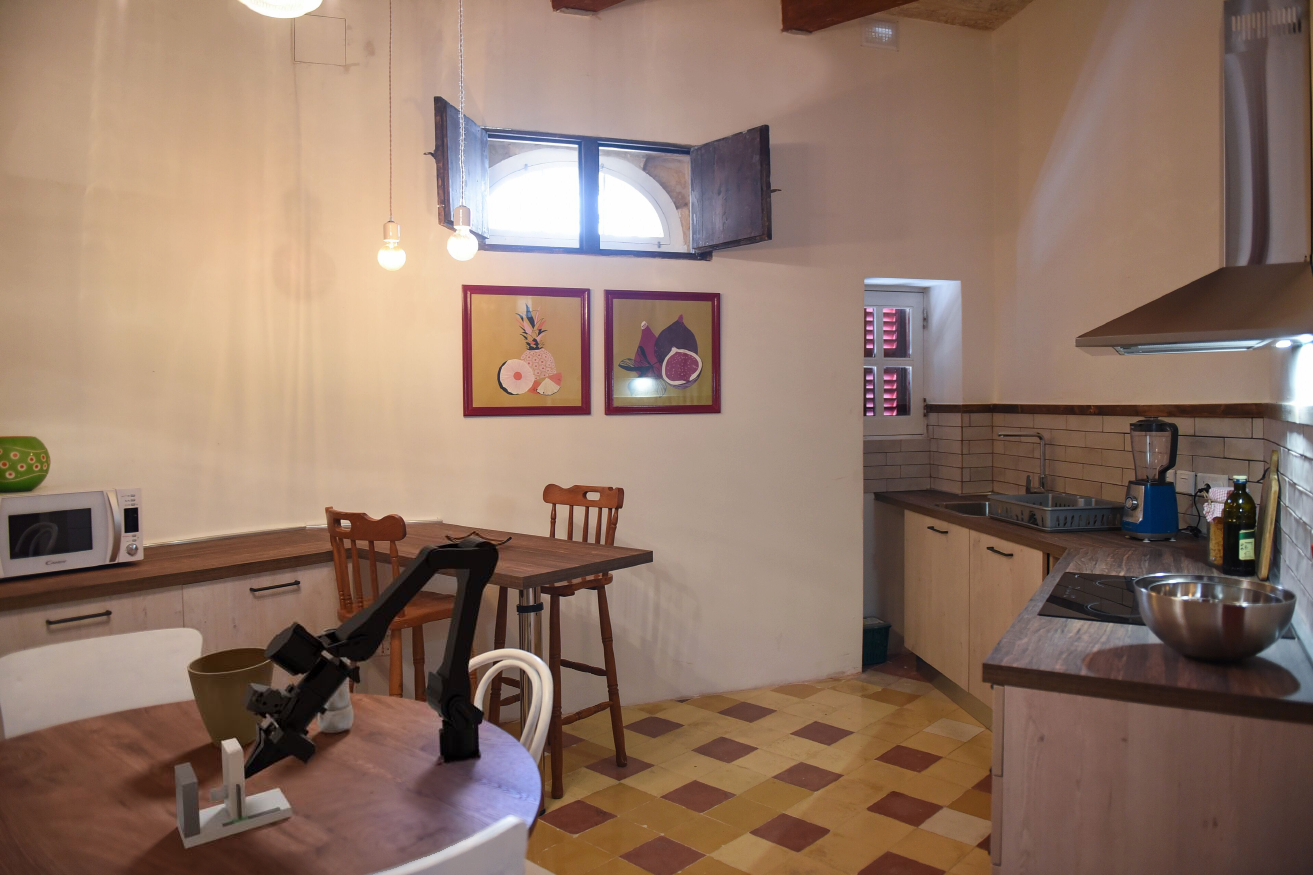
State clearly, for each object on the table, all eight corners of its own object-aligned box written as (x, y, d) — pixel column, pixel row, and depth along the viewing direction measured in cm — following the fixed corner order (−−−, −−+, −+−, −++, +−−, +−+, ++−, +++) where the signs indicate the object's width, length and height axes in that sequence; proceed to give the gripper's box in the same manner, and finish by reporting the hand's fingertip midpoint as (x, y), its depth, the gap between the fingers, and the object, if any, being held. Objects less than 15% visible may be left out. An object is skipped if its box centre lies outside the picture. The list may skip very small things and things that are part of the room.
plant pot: (182, 740, 157) (178, 659, 156) (264, 719, 167) (261, 642, 166) (202, 765, 146) (198, 677, 145) (289, 740, 156) (285, 658, 155)
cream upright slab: (238, 799, 129) (235, 737, 129) (247, 817, 124) (244, 753, 123) (208, 807, 127) (205, 745, 126) (216, 827, 121) (213, 761, 120)
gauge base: (279, 796, 134) (278, 787, 134) (291, 816, 128) (290, 806, 127) (177, 826, 125) (177, 815, 125) (185, 848, 119) (184, 837, 119)
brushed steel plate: (192, 812, 126) (189, 761, 126) (200, 833, 120) (197, 780, 120) (177, 816, 125) (174, 765, 125) (184, 838, 119) (182, 784, 118)
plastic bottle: (342, 738, 157) (338, 635, 156) (310, 736, 158) (306, 634, 157) (360, 725, 163) (357, 626, 162) (330, 722, 164) (326, 625, 163)
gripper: (262, 649, 137) (190, 731, 131) (289, 679, 122) (210, 773, 116) (313, 685, 142) (246, 765, 136) (345, 717, 127) (272, 809, 121)
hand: (242, 777), depth 127 cm, fingers closed
